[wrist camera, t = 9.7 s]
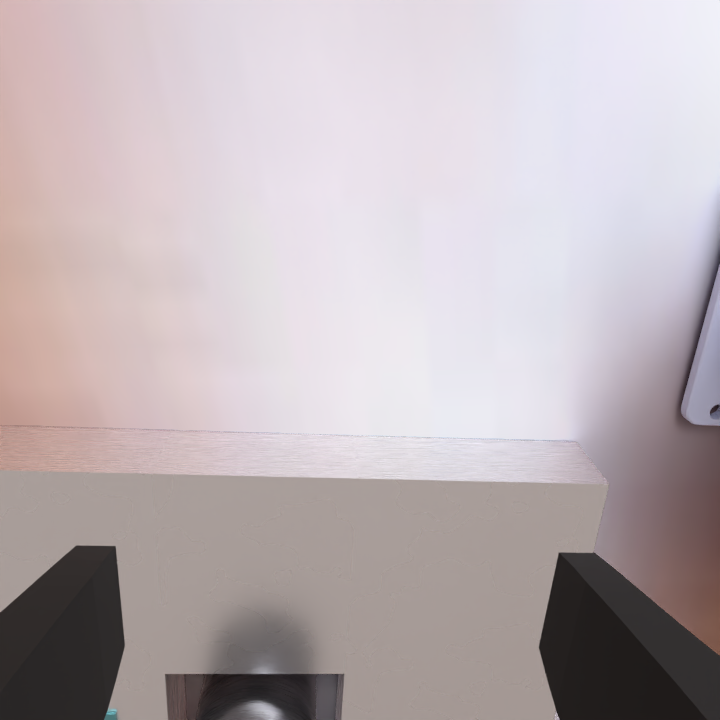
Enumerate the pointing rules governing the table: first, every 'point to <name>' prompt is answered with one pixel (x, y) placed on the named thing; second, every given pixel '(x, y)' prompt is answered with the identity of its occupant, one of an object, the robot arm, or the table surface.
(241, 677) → the cylinder
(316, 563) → the plate
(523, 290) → the table surface
